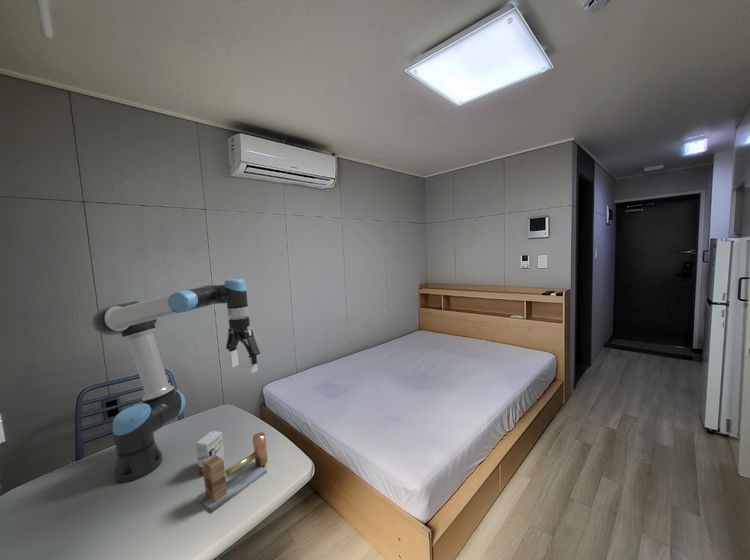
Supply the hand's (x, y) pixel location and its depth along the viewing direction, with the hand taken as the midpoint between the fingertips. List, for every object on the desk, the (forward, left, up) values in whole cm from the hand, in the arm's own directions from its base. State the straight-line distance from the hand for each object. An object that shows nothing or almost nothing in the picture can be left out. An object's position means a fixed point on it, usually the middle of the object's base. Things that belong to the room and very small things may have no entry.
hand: (244, 369), depth 121 cm
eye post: (+12, -15, -35) cm, 40 cm away
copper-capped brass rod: (+12, -9, -33) cm, 37 cm away
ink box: (-5, -14, -35) cm, 38 cm away
